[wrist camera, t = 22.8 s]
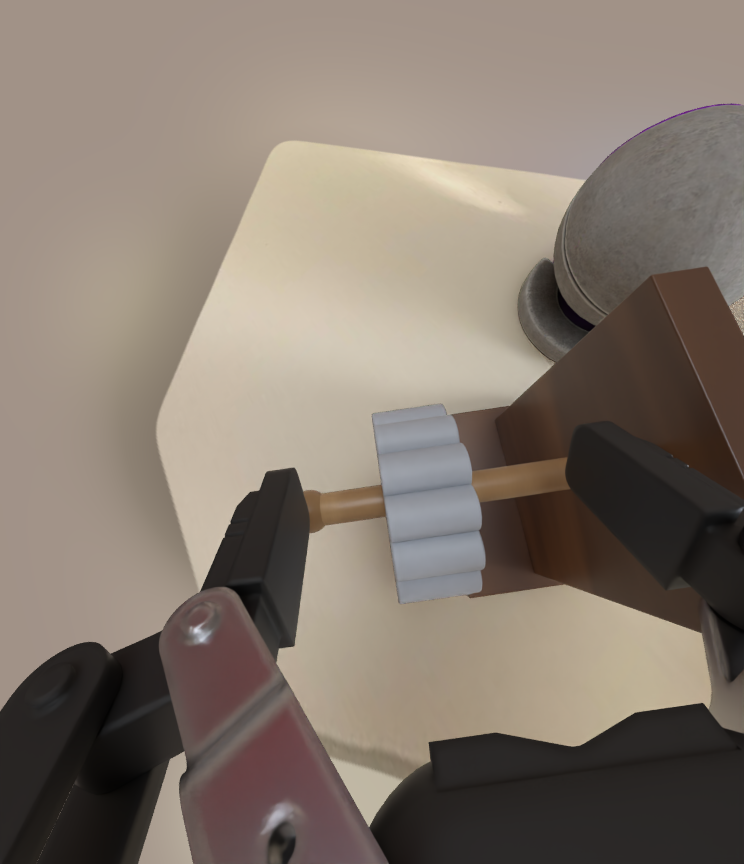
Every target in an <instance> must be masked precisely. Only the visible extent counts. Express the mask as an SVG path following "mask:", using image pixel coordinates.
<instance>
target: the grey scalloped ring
mask: <svg viewBox="0 0 744 864" xmlns="http://www.w3.org/2000/svg"><path fill="white" fill-rule="evenodd" d="M372 422H373V429H374V436H375V443H376V450H377V457H378V464H379V471H380V478H381V485H382V490H383V497H384V504H385V511H386V519H387V526H388V533H389V540H390V547H391V554H392V561H393V567H394V574H395V581H396V588H397V595H398V602H399V604H405V603H412V602H419V601H426V600H433V599H440V598H447V597H454V596H461V595H468V594H473V593H477V592H480V591H481V590H482V576H481V570H482V569H484V568H485V561H486V559H485V550H484V545H483V541H482V538H481V535H480V532H479V530H480V528H481V525H482V514H481V507H480V503H479V499H478V496H477V493H476V491H475V489H474V487H473V486H472V485H471V483H472V468H471V462H470V458H469V455H468V452H467V450H466V448H465V446H464V445H463V444H462V443H460V440H459V433H458V428H457V424H456V422H455V419H454V418H453V416H452V415H447V413H446V410H445V408H444V406H443V405H442V404H435V405H428V406H421V407H414V408H407V409H400V410H393V411H386V412H379V413H373V414H372Z"/></svg>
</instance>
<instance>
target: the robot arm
mask: <svg viewBox="0 0 744 864" xmlns="http://www.w3.org/2000/svg"><path fill="white" fill-rule="evenodd" d="M565 477H566V481H567V483H568V485H569V487H570V489H571V490H572V491H573V492H574V493H575V495H576V496H577V497H578V498H579V499H580V500H581V501H582V502H583V503H584V504H585V505H586V506H587V507H588V508H589V509H590V510H591V512H592V513H593V514H594V515H595V516H596V517H597V518H598V519H599V520H600V521H601V522H602V523H603V524H604V525H605V526H606V527H607V529H608V530H609V531H610V532H611V533H612V534H613V535H614V536H615V537H616V538H617V539H618V540H619V541H620V542H621V543H622V545H623V546H624V547H625V548H626V549H627V550H628V551H629V552H630V553H631V554H632V555H633V556H634V557H635V558H636V559H637V560H638V562H639V563H640V564H641V565H642V566H643V567H644V568H645V569H646V570H647V571H648V572H649V573H650V574H651V575H652V576H653V577H654V579H655V580H656V581H657V582H658V583H659V584H660V585H661V586H662V587H663V588H664V589H665V590H673V589H680V588H687V587H692V588H693V589H694V590H695V591H696V592H697V593H698V594H699V595H700V596H701V597H700V599H699V600H698V604H697V607H698V613H699V619H700V625H701V630H702V636H703V642H704V647H705V653H706V659H707V664H708V670H709V676H710V681H711V690H712V694H711V703H710V706H709V710H708V709H707V707H706V706H705V705H704V704H703V703H699V704H692V705H685V706H678V707H672V708H665V709H658V710H651V711H644V712H637V713H634V714H632V715H631V716H629V717H627V718H626V719H624V720H622V721H621V722H619V723H618V724H616V725H614V726H613V727H611V728H609V729H608V730H606V731H604V732H603V733H601V734H599V735H598V736H596V737H594V738H593V739H591V740H589V741H588V742H586V743H585V744H583V745H580V746H575V747H571V746H564V745H559V744H554V743H548V742H543V741H538V740H532V739H527V738H522V737H516V736H511V735H506V734H500V733H490V734H483V735H476V736H469V737H462V738H455V739H448V740H441V741H434V742H429V750H430V759H431V762H429V763H427V764H425V765H423V766H422V767H420V768H418V769H416V770H415V771H414V772H413V773H412V774H410V775H409V776H408V777H407V778H405V779H404V780H403V781H402V782H401V783H400V784H399V785H398V787H397V788H396V789H395V790H394V791H393V792H392V793H391V794H390V795H389V797H388V798H387V799H386V801H385V802H384V804H383V805H382V807H381V808H380V810H379V811H378V812H377V814H376V816H375V818H374V819H373V821H372V823H371V825H370V827H368V825H367V824H366V822H365V820H364V818H363V816H362V815H361V813H360V811H359V809H358V807H357V806H356V804H355V802H354V800H353V798H352V797H351V795H350V793H349V791H348V790H347V788H346V786H345V784H344V783H343V781H342V779H341V777H340V775H339V773H338V772H337V770H336V768H335V766H334V764H333V763H332V761H331V759H330V757H329V756H328V754H327V752H326V750H325V748H324V747H323V745H322V743H321V741H320V740H319V738H318V736H317V734H316V732H315V731H314V729H313V727H312V725H311V723H310V722H309V720H308V718H307V716H306V715H305V713H304V711H303V709H302V707H301V706H300V704H299V702H298V700H297V699H296V697H295V695H294V693H293V691H292V690H291V688H290V686H289V684H288V683H287V681H286V680H285V678H284V676H283V674H282V672H281V671H280V669H279V667H278V665H277V664H276V661H277V655H278V650H279V648H286V647H293V646H294V645H295V637H296V630H297V622H298V615H299V607H300V600H301V592H302V585H303V577H304V570H305V562H306V555H307V547H308V540H309V532H310V516H309V510H308V506H307V503H306V500H305V497H304V493H303V490H302V487H301V483H300V480H299V477H298V474H297V471H296V469H295V468H288V469H281V470H274V471H268V472H267V473H266V474H265V477H264V479H263V482H262V485H261V488H260V490H259V491H254V492H250V493H249V494H248V495H247V496H246V497H245V498H244V499H243V500H242V501H241V502H240V503H239V505H238V506H237V507H236V510H235V512H234V514H233V517H232V519H231V521H230V522H231V524H230V525H229V526H228V528H227V531H226V533H225V538H223V540H222V542H221V545H220V547H219V549H218V552H217V554H216V556H215V559H214V561H213V563H212V565H211V568H210V570H209V572H208V575H207V577H206V579H205V582H204V584H203V586H202V589H201V591H200V592H199V593H197V594H196V595H194V596H192V597H191V598H189V599H188V600H187V601H185V602H184V603H183V604H182V605H181V606H180V607H179V608H178V609H177V610H176V611H175V612H174V613H173V614H172V615H171V617H170V618H169V620H168V621H167V623H166V624H165V626H164V628H163V630H162V631H160V632H158V633H156V634H154V635H152V636H150V637H148V638H145V639H143V640H141V641H139V642H136V643H134V644H132V645H129V646H127V647H125V648H123V649H120V650H118V651H116V652H114V653H111V654H110V653H109V652H108V651H107V650H106V649H105V648H104V647H103V646H101V645H100V644H99V643H96V642H85V643H80V644H77V645H74V646H72V647H69V648H67V649H65V650H63V651H62V652H59V653H58V654H56V655H55V656H53V657H51V658H50V659H49V660H47V661H46V662H45V663H43V664H42V665H41V666H39V667H38V668H37V669H36V670H35V671H34V672H33V673H31V674H30V675H29V676H28V677H27V678H26V679H25V680H24V681H23V683H22V684H21V685H20V686H19V687H18V688H17V689H16V691H15V692H14V693H13V694H12V696H11V697H10V698H9V700H8V701H7V703H6V704H5V705H4V707H3V709H2V710H1V711H0V864H138V861H139V858H140V855H141V852H142V849H143V845H144V842H145V839H146V836H147V832H148V829H149V826H150V823H151V819H152V816H153V813H154V809H155V806H156V803H157V799H158V796H159V793H160V790H161V786H162V783H163V780H164V777H165V774H166V770H167V767H168V763H169V760H170V759H171V758H173V757H175V756H176V755H178V754H180V753H182V752H184V751H185V755H186V760H187V769H186V772H185V773H183V774H182V776H181V778H180V783H179V794H180V803H181V809H182V814H183V818H184V823H185V828H186V832H187V837H188V841H189V846H190V851H191V855H192V860H193V864H744V500H743V499H742V498H740V497H738V496H737V495H735V494H734V493H732V492H731V491H729V490H727V489H726V488H724V487H723V486H721V485H719V484H718V483H716V482H715V481H713V480H711V479H710V478H708V477H707V476H705V475H703V474H702V473H700V472H699V471H697V470H695V469H694V468H689V467H688V465H687V464H686V463H684V462H683V461H681V460H679V459H678V458H673V455H671V454H670V453H668V452H667V451H665V450H663V449H662V448H660V447H659V446H657V445H655V444H654V443H651V442H648V441H646V440H643V439H640V438H638V437H635V436H633V435H631V434H630V433H628V432H627V431H625V430H624V429H622V428H620V427H619V426H617V425H616V424H614V423H613V422H611V421H600V422H594V423H587V424H580V425H577V426H576V427H575V428H574V430H573V433H572V438H571V443H570V448H569V453H568V457H567V462H566V467H565ZM70 791H71V792H70ZM69 793H70V794H69ZM68 795H69V796H68ZM67 797H68V798H67ZM66 799H67V800H66ZM61 810H62V811H61ZM60 812H61V813H60ZM59 814H60V815H59ZM58 816H59V817H58ZM57 818H58V819H57ZM52 829H53V830H52ZM51 831H52V832H51ZM50 833H51V834H50ZM49 835H50V836H49ZM48 837H49V838H48ZM44 846H45V847H44ZM43 848H44V849H43ZM42 850H43V851H42ZM41 852H42V853H41ZM40 854H41V855H40Z"/></svg>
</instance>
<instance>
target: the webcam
mask: <svg viewBox="0 0 744 864" xmlns="http://www.w3.org/2000/svg"><path fill="white" fill-rule="evenodd" d="M706 266H707V267H709V269H710V271H711V273H712V275H713V277H714V279H715V281H716V283H717V285H718V287H719V289H720V290H721V292H722V294H723V296H724V298H725V300H726V302H727V304H728V306H730V305H731V304H733V303H734V302H736V301H737V300H739V299H740V298H742V297H743V296H744V105H740V104H718V105H712V106H706V107H701V108H697V109H694V110H690V111H686V112H684V113H681V114H678V115H675V116H673V117H670V118H668V119H666V120H664V121H661V122H659V123H657V124H655V125H653V126H651V127H649V128H647V129H645V130H643V131H642V132H640V133H639V134H637V135H636V136H634V137H632V138H631V139H629V140H628V141H626V142H625V143H624V144H622V145H621V146H620V147H618V148H617V149H616V150H615V151H614V152H612V153H611V154H610V155H609V156H608V157H607V158H606V159H605V160H604V161H603V162H602V163H601V164H600V166H599V167H598V168H597V169H596V170H595V171H594V172H593V173H592V175H591V176H590V177H589V178H588V179H587V180H586V181H585V183H584V184H583V185H582V187H581V188H580V189H579V191H578V192H577V194H576V195H575V197H574V198H573V200H572V201H571V203H570V205H569V207H568V209H567V211H566V213H565V215H564V217H563V219H562V222H561V224H560V227H559V229H558V233H557V237H556V241H555V248H554V262H551V261H550V260H549V259H547V258H543V259H542V260H541V261H540V262H539V263H538V264H537V265H536V266H535V267H534V268H533V269H532V271H531V272H530V274H529V275H528V277H527V278H526V280H525V282H524V283H523V286H522V288H521V290H520V293H519V298H518V313H519V317H520V322H521V325H522V327H523V329H524V331H525V333H526V334H527V336H528V338H529V339H530V340H531V342H532V343H533V344H534V345H535V346H536V347H537V348H538V349H539V350H540V351H541V352H542V353H543V354H545V355H546V356H547V357H549V358H550V359H552V360H553V361H555V362H558V361H559V360H560V359H561V358H562V357H563V356H564V355H565V354H566V353H567V352H568V351H570V350H571V349H572V348H573V347H574V346H575V345H576V344H577V343H578V342H579V341H580V340H581V339H582V338H584V337H585V336H586V335H587V334H588V333H589V332H590V331H591V330H592V329H593V328H594V327H595V326H596V325H598V324H599V323H600V322H601V321H602V320H603V319H604V318H605V317H606V316H607V315H608V314H609V313H610V312H612V311H613V310H614V309H615V308H616V307H617V306H618V305H619V304H620V303H621V302H622V301H623V300H624V299H626V298H627V297H628V296H629V295H630V294H631V293H632V292H633V291H634V290H635V289H636V288H637V287H638V286H640V285H641V284H642V283H643V282H644V281H645V280H646V279H647V278H648V277H649V276H651V275H653V274H659V273H666V272H673V271H679V270H686V269H693V268H699V267H706Z"/></svg>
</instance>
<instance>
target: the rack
mask: <svg viewBox="0 0 744 864" xmlns="http://www.w3.org/2000/svg"><path fill="white" fill-rule="evenodd" d="M452 416H453V418H454V419H455V422H456V424H457V428H458V433H459V440H460V443H462V444H463V445H464V446H465V448H466V450H467V452H468V455H469V458H470V462H471V468H472V483H471V485H472V486H473V487H474V489H475V491H476V493H477V496H478V499H479V503H480V507H481V514H482V525H481V528H480V530H479V532H480V535H481V538H482V541H483V545H484V550H485V559H486V561H485V568H484V569H482V570H481V576H482V590H481V591H480V592H477V593H473V594H468V595H467V596H468V597H469V598H474V597H481V596H488V595H495V594H502V593H508V592H515V591H522V590H529V589H536V588H542V587H549V586H556V585H563V584H566V585H569V586H571V587H574V588H577V589H580V590H583V591H585V592H588V593H591V594H594V595H596V596H599V597H602V598H605V599H608V600H610V601H613V602H616V603H619V604H622V605H624V606H627V607H630V608H633V609H636V610H638V611H641V612H644V613H647V614H650V615H652V616H655V617H658V618H661V619H664V620H666V621H669V622H672V623H675V624H678V625H680V626H683V627H686V628H689V629H692V630H694V631H697V632H700V633H702V630H701V625H700V619H699V613H698V607H697V604H698V600H699V599H700V597H701V596H700V595H699V594H698V593H697V592H696V591H695V590H694V589H693V588H692V587H687V588H680V589H673V590H665V589H664V588H663V587H662V586H661V585H660V584H659V583H658V582H657V581H656V580H655V579H654V577H653V576H652V575H651V574H650V573H649V572H648V571H647V570H646V569H645V568H644V567H643V566H642V565H641V564H640V563H639V562H638V560H637V559H636V558H635V557H634V556H633V555H632V554H631V553H630V552H629V551H628V550H627V549H626V548H625V547H624V546H623V545H622V543H621V542H620V541H619V540H618V539H617V538H616V537H615V536H614V535H613V534H612V533H611V532H610V531H609V530H608V529H607V527H606V526H605V525H604V524H603V523H602V522H601V521H600V520H599V519H598V518H597V517H596V516H595V515H594V514H593V513H592V512H591V510H590V509H589V508H588V507H587V506H586V505H585V504H584V503H583V502H582V501H581V500H580V499H579V498H578V497H577V496H576V495H575V493H574V492H573V491H572V490H571V489H570V487H569V485H568V483H567V481H566V477H565V467H566V462H567V457H568V453H569V448H570V443H571V438H572V433H573V430H574V428H575V427H576V426H577V425H580V424H587V423H594V422H600V421H611V422H613V423H614V424H616V425H617V426H619V427H620V428H622V429H624V430H625V431H627V432H628V433H630V434H631V435H633V436H635V437H638V438H640V439H643V440H646V441H648V442H651V443H654V444H655V445H657V446H659V447H660V448H662V449H663V450H665V451H667V452H668V453H670V454H671V455H673V458H678V459H679V460H681V461H683V462H684V463H686V464H687V465H688V467H689V468H694V469H695V470H697V471H699V472H700V473H702V474H703V475H705V476H707V477H708V478H710V479H711V480H713V481H715V482H716V483H718V484H719V485H721V486H723V487H724V488H726V489H727V490H729V491H731V492H732V493H734V494H735V495H737V496H738V497H740V498H742V499H743V500H744V335H743V333H742V331H741V329H740V328H739V326H738V324H737V322H736V320H735V318H734V316H733V314H732V312H731V310H730V308H729V306H728V304H727V302H726V300H725V298H724V296H723V294H722V292H721V290H720V289H719V287H718V285H717V283H716V281H715V279H714V277H713V275H712V273H711V271H710V269H709V267H707V266H706V267H699V268H693V269H686V270H679V271H673V272H666V273H659V274H653V275H651V276H649V277H648V278H647V279H646V280H645V281H644V282H643V283H642V284H641V285H640V286H638V287H637V288H636V289H635V290H634V291H633V292H632V293H631V294H630V295H629V296H628V297H627V298H626V299H624V300H623V301H622V302H621V303H620V304H619V305H618V306H617V307H616V308H615V309H614V310H613V311H612V312H610V313H609V314H608V315H607V316H606V317H605V318H604V319H603V320H602V321H601V322H600V323H599V324H598V325H596V326H595V327H594V328H593V329H592V330H591V331H590V332H589V333H588V334H587V335H586V336H585V337H584V338H582V339H581V340H580V341H579V342H578V343H577V344H576V345H575V346H574V347H573V348H572V349H571V350H570V351H568V352H567V353H566V354H565V355H564V356H563V357H562V358H561V359H560V360H559V361H558V362H557V363H555V364H554V365H553V366H552V367H551V368H550V369H549V370H548V371H547V372H546V373H545V374H544V375H543V376H541V377H540V378H539V379H538V380H537V381H536V382H535V383H534V384H533V385H532V386H531V387H530V388H529V389H527V390H526V391H525V392H524V393H523V394H522V395H521V396H520V397H519V398H518V399H517V400H516V401H515V402H513V403H512V404H511V405H510V406H505V407H499V408H492V409H485V410H479V411H472V412H465V413H458V414H452ZM303 493H304V497H305V500H306V503H307V506H308V510H309V516H310V532H309V533H315V532H317V531H319V530H321V529H322V528H323V527H324V526H326V525H332V524H339V523H346V522H353V521H359V520H366V519H373V518H380V517H386V511H385V504H384V497H383V490H382V485H376V486H370V487H363V488H356V489H349V490H343V491H336V492H329V493H320V492H318V491H314V490H307V491H303Z"/></svg>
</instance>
